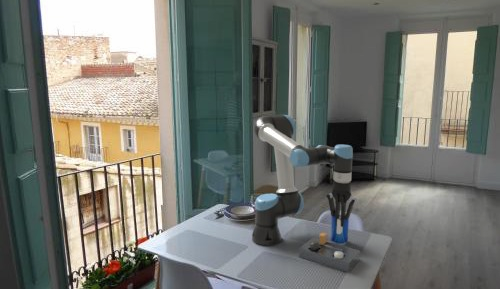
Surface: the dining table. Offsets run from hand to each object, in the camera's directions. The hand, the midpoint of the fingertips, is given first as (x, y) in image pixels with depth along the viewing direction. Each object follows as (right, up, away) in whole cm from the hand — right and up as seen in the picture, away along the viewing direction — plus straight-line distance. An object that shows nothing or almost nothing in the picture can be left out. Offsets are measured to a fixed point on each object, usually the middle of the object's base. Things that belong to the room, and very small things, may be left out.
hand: (339, 232), depth 156 cm
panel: (-3, -14, +9) cm, 17 cm away
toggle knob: (-5, -9, +14) cm, 17 cm away
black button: (-9, -10, +9) cm, 16 cm away
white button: (0, -13, +2) cm, 13 cm away
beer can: (+6, -12, +25) cm, 29 cm away
